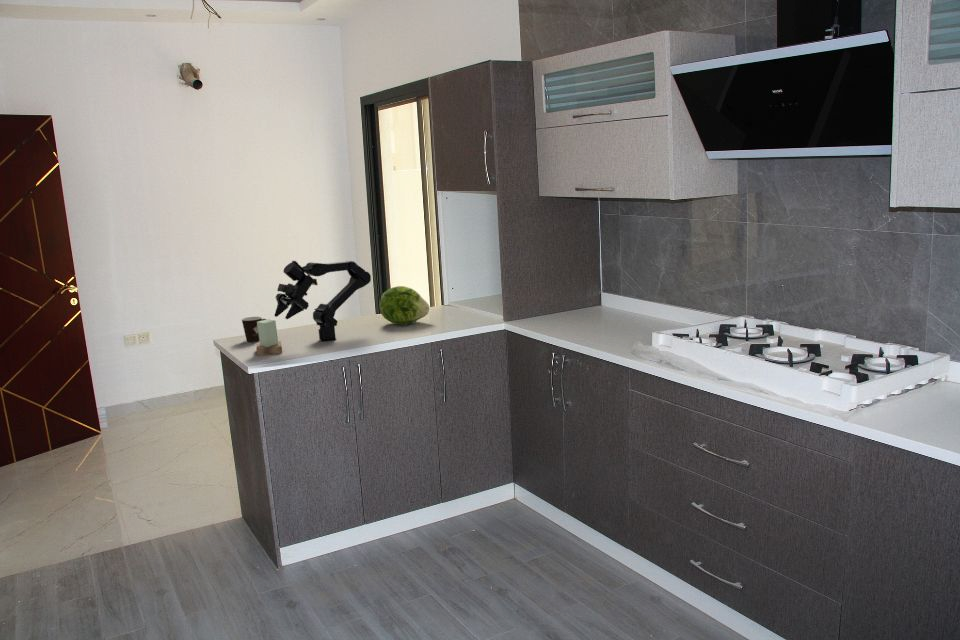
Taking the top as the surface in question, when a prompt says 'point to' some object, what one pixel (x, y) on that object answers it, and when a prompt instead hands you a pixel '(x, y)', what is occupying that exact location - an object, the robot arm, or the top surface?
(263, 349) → the walnut block
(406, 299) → the lettuce
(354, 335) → the top surface
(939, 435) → the top surface
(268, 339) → the tea tin
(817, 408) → the top surface
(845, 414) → the top surface
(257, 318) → the coffee mug
